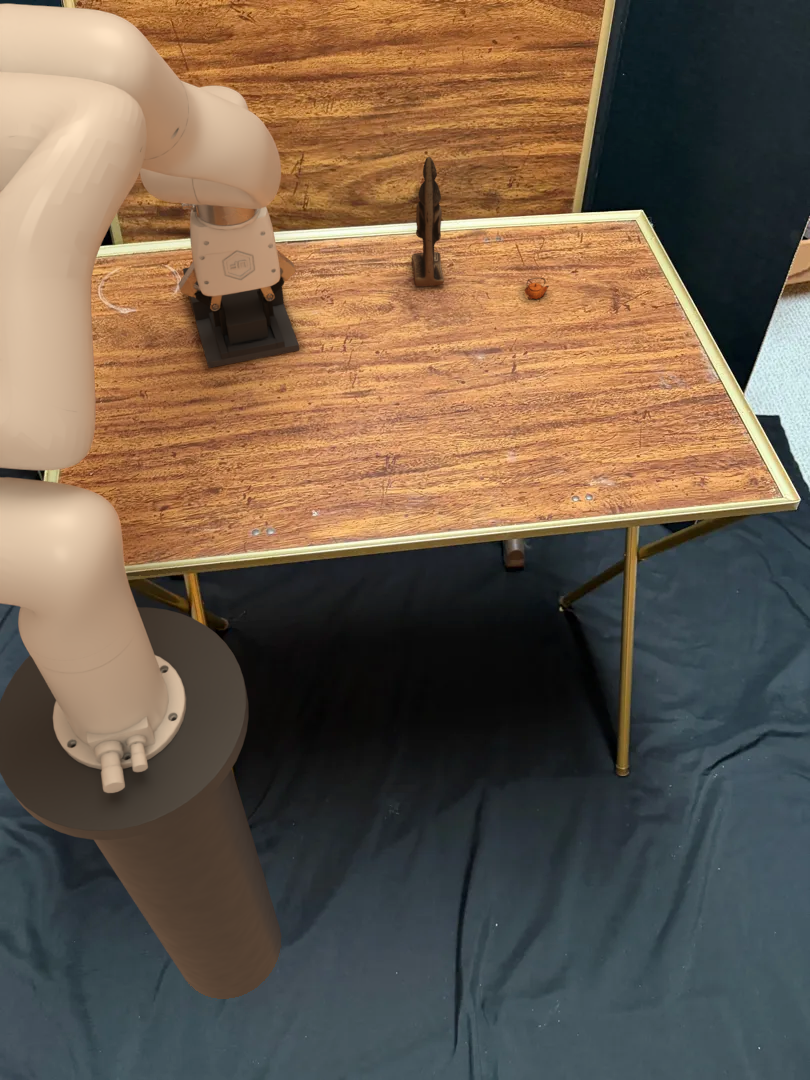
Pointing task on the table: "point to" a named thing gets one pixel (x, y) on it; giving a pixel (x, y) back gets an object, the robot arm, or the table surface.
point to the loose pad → (244, 317)
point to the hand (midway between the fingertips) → (244, 322)
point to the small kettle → (535, 290)
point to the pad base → (226, 353)
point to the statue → (428, 229)
